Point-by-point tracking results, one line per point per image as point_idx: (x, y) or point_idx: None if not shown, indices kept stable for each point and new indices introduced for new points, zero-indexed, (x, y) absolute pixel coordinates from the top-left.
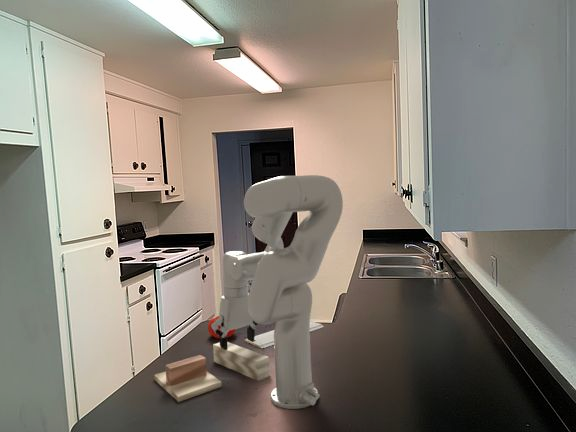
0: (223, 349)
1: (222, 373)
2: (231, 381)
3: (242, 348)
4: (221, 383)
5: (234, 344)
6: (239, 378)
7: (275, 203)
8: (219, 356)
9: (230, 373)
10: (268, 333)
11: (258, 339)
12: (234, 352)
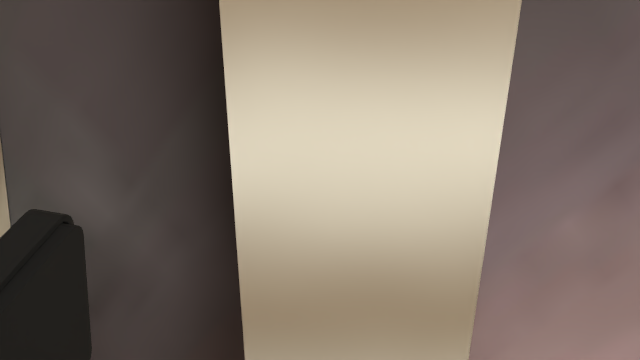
0: (226, 31)
1: (153, 128)
2: (130, 311)
3: (444, 295)
4: None
5: (515, 38)
6: (212, 323)
7: None
8: None
9: (213, 192)
10: None
11: None
12: (250, 313)
